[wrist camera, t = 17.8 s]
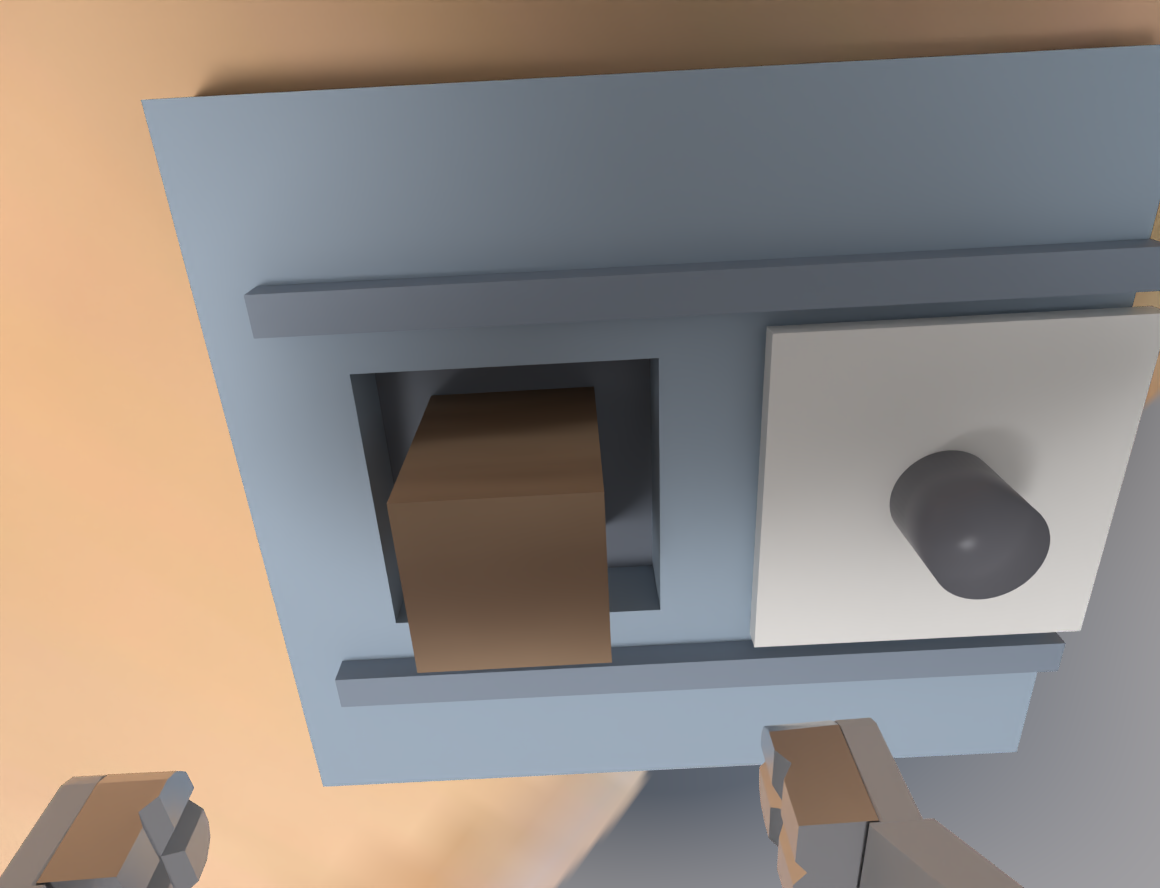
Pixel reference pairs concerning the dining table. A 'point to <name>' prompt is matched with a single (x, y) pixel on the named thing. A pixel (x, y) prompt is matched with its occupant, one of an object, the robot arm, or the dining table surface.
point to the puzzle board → (627, 358)
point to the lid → (942, 472)
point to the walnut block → (504, 532)
